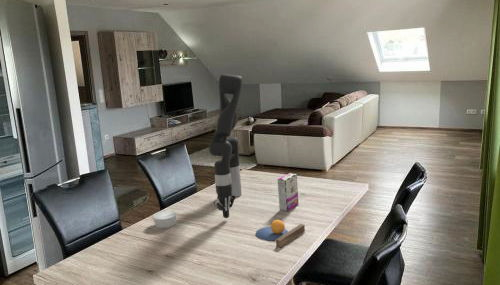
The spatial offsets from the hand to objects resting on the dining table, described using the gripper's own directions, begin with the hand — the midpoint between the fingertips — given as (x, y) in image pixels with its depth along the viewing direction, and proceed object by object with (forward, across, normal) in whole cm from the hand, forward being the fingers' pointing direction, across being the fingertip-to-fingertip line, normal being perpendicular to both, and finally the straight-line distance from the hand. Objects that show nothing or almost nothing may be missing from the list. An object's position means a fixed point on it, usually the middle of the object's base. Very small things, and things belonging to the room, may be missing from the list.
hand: (226, 217), depth 187 cm
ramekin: (+2, +19, -22) cm, 29 cm away
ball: (-2, -1, +29) cm, 29 cm away
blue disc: (+2, 0, +27) cm, 27 cm away
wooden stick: (+2, 0, +37) cm, 37 cm away
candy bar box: (+2, -29, +16) cm, 33 cm away
